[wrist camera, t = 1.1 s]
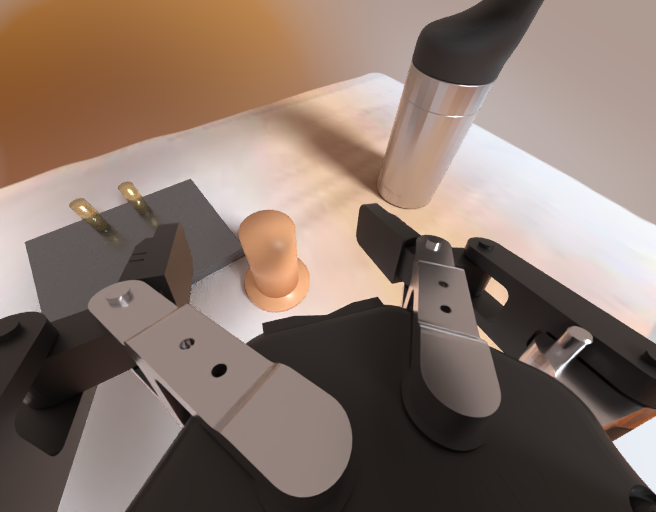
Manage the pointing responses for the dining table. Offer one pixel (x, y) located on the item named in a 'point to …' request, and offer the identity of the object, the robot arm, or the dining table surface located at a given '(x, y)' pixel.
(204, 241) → the base plate
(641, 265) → the dining table surface
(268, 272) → the orange flanged cylinder
